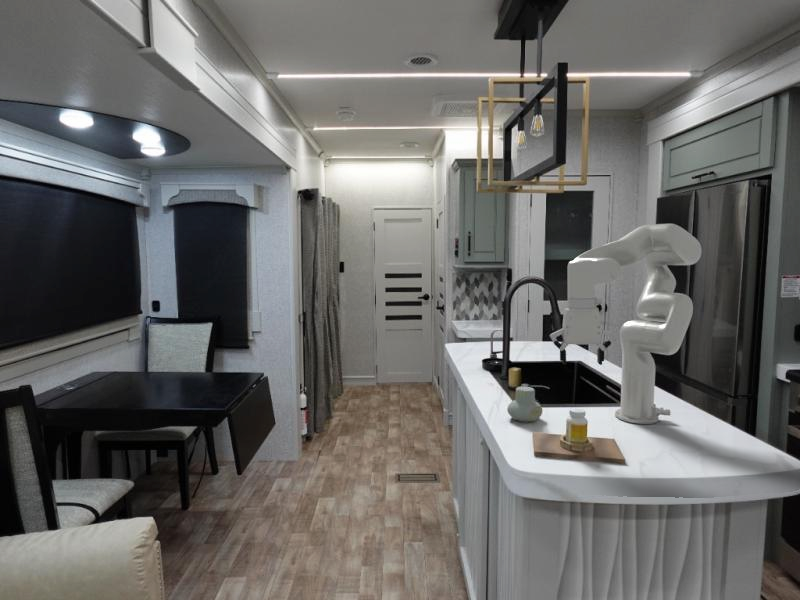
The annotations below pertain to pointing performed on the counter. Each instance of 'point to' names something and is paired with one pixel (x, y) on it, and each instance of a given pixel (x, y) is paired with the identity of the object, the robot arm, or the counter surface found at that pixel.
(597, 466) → the counter surface
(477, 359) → the counter surface
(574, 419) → the supplement bottle
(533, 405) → the air freshener
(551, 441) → the wooden board
